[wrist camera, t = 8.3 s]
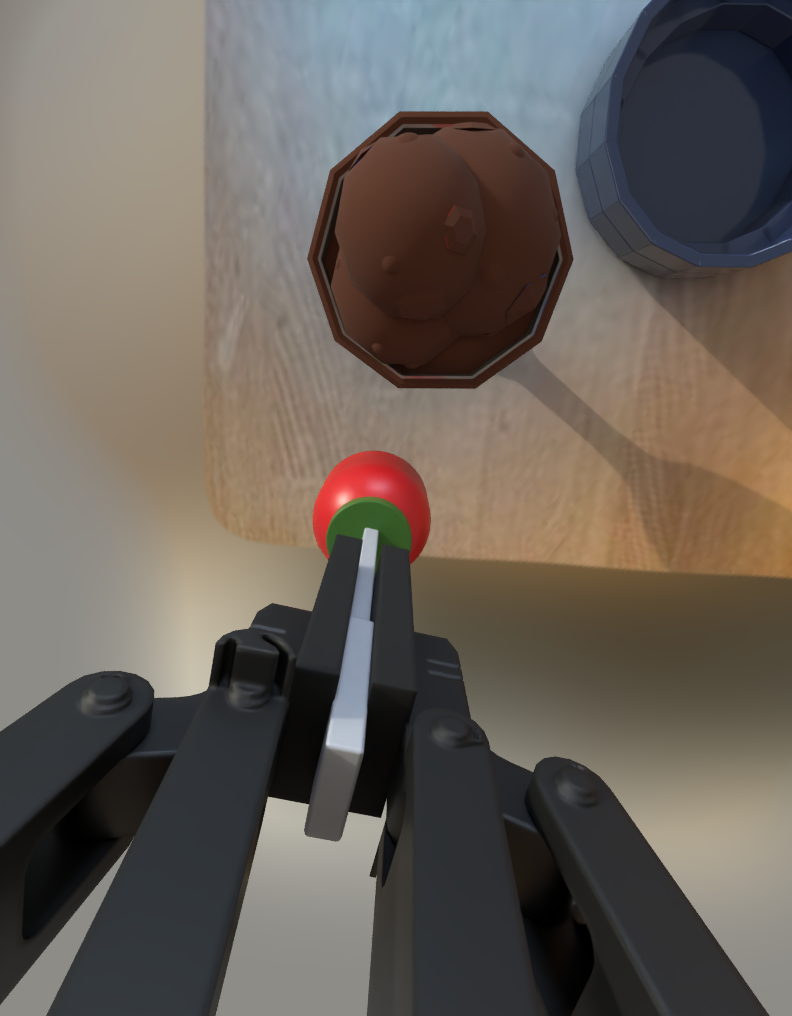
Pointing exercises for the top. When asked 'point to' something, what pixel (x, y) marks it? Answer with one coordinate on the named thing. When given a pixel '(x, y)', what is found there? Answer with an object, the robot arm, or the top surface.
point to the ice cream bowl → (440, 249)
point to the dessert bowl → (693, 138)
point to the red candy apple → (359, 609)
